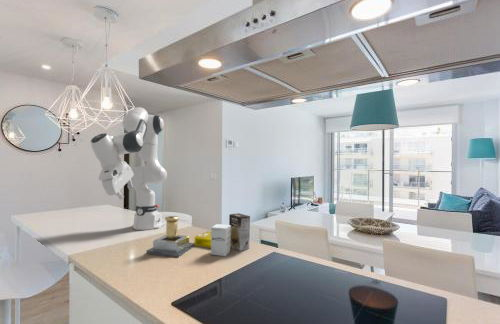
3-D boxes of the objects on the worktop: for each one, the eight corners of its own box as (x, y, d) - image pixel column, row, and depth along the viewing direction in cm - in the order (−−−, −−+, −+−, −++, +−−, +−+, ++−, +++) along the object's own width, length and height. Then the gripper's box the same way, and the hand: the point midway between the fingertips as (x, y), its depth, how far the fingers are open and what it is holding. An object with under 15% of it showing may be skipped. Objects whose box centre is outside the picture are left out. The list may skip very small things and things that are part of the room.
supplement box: (210, 255, 116) (210, 227, 116) (216, 249, 123) (216, 223, 123) (225, 256, 114) (226, 228, 114) (230, 251, 121) (231, 224, 121)
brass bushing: (166, 244, 124) (166, 215, 125) (179, 244, 125) (179, 215, 125) (163, 249, 118) (163, 218, 118) (177, 248, 119) (177, 218, 119)
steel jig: (165, 243, 131) (165, 232, 131) (194, 246, 128) (194, 235, 128) (146, 253, 116) (146, 241, 116) (178, 257, 112) (178, 244, 112)
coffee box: (228, 246, 128) (228, 214, 128) (238, 244, 132) (238, 212, 132) (239, 251, 121) (240, 217, 121) (250, 248, 126) (250, 215, 126)
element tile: (217, 249, 124) (217, 240, 124) (192, 245, 130) (192, 236, 130) (232, 241, 138) (232, 232, 138) (209, 237, 144) (209, 229, 144)
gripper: (118, 160, 129) (130, 184, 134) (96, 179, 110) (110, 205, 116) (130, 158, 128) (141, 181, 134) (109, 176, 110) (123, 203, 115)
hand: (126, 193), depth 125 cm, fingers open, 8 cm apart
